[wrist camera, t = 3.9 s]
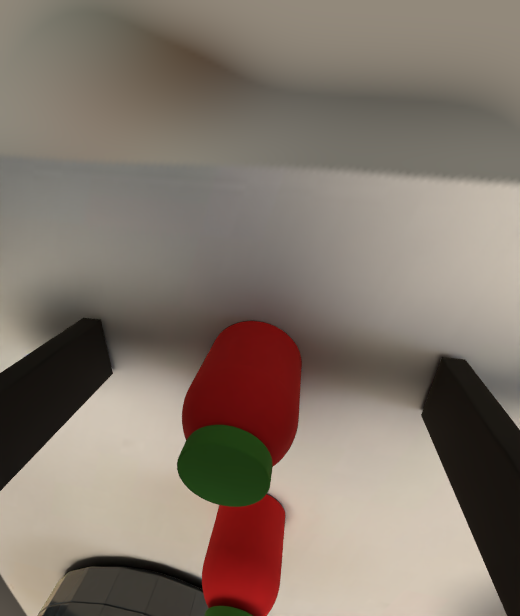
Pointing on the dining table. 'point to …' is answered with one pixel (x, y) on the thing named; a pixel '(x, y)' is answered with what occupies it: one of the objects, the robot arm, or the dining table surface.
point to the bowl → (123, 594)
